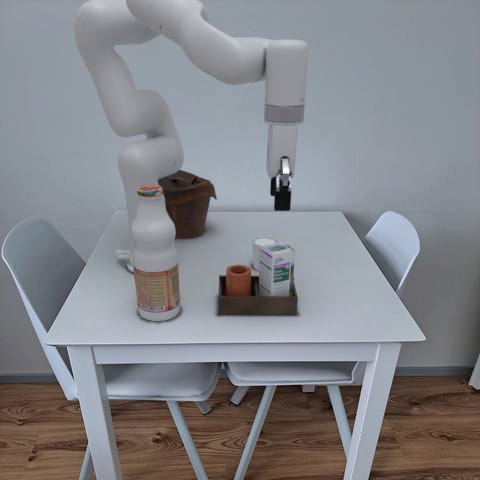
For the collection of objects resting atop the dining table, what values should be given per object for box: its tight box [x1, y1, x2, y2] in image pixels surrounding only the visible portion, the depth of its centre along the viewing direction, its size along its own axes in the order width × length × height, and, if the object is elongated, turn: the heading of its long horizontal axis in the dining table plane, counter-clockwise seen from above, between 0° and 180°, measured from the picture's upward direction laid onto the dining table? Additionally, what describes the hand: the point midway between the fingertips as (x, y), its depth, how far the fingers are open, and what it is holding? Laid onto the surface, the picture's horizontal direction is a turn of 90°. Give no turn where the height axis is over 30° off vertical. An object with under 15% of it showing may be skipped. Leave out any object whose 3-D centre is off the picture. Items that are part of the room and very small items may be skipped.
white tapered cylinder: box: [251, 237, 279, 271], centre depth 130 cm, size 7×7×7 cm
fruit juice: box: [131, 185, 181, 322], centre depth 104 cm, size 9×9×28 cm
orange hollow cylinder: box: [225, 264, 252, 296], centre depth 112 cm, size 6×6×9 cm
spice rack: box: [218, 274, 299, 316], centre depth 113 cm, size 17×9×6 cm, turn 91°
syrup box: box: [258, 241, 296, 297], centre depth 110 cm, size 6×6×14 cm
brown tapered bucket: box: [158, 169, 218, 239], centre depth 148 cm, size 18×20×18 cm
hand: (279, 202), depth 102 cm, fingers open, 9 cm apart
